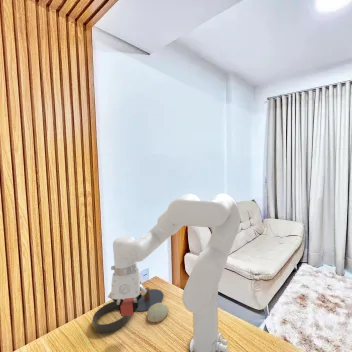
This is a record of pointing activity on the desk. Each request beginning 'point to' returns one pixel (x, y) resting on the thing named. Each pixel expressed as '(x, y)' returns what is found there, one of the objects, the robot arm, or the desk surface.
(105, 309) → the pot
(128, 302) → the block
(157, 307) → the sea urchin shell
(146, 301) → the pot lid
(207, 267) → the robot arm
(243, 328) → the desk surface
